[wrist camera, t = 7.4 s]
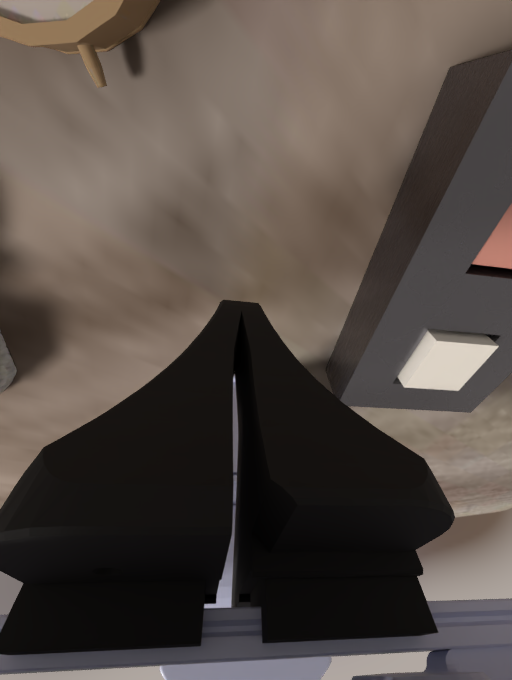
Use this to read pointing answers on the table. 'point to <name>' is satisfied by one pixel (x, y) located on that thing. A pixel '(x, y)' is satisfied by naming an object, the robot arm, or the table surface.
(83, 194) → the table surface
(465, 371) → the cream key
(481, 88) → the grey flat block
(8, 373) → the ceramic cottage
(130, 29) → the alarm clock
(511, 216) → the red key
